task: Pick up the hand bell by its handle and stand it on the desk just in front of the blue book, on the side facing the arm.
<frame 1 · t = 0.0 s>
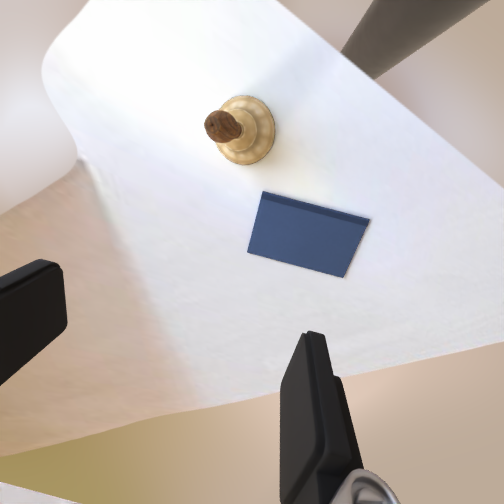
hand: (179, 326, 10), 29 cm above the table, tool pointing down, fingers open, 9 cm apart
hand bell: (244, 132, 34), on the table
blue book: (304, 236, 38), on the table
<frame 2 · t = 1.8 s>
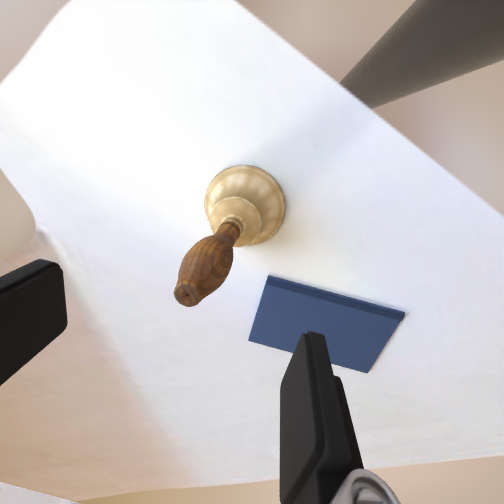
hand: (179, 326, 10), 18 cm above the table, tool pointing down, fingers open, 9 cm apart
hand bell: (244, 207, 26), on the table
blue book: (320, 326, 31), on the table
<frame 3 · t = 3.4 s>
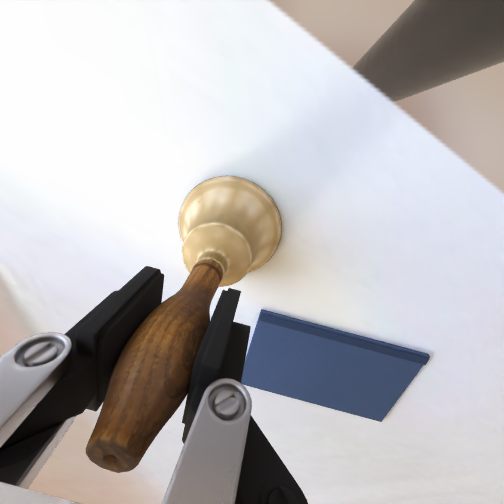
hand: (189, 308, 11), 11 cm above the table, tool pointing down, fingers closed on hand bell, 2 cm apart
hand bell: (230, 227, 20), on the table, touching gripper
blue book: (325, 368, 25), on the table
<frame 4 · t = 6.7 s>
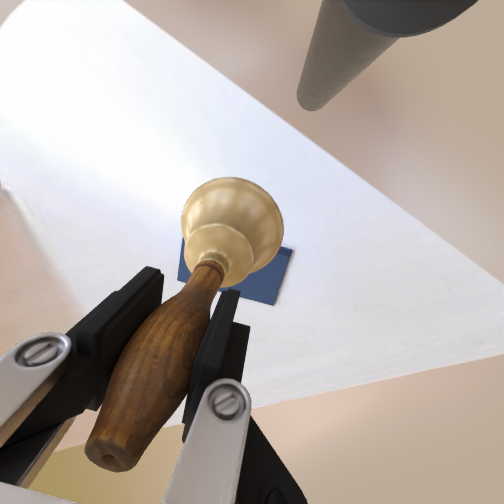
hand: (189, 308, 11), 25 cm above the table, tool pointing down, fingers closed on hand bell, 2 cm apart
hand bell: (232, 228, 20), point 14 cm above the table, touching gripper
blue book: (231, 265, 38), on the table
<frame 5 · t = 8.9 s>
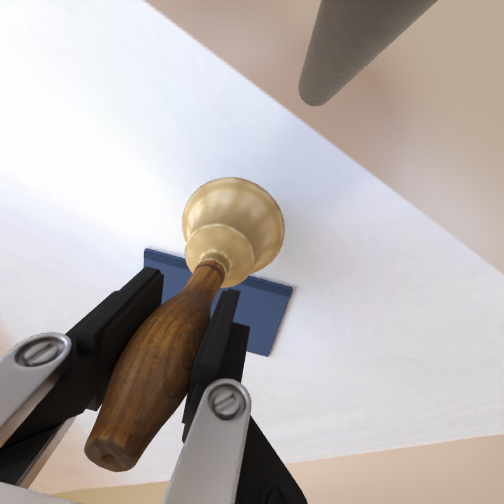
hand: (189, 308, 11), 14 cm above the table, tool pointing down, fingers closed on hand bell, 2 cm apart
hand bell: (233, 229, 20), point 4 cm above the table, touching gripper
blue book: (211, 305, 28), on the table
when the fingers open (11 cm above the table, at t = 10.1 s): hand bell stays where it is, on the table.
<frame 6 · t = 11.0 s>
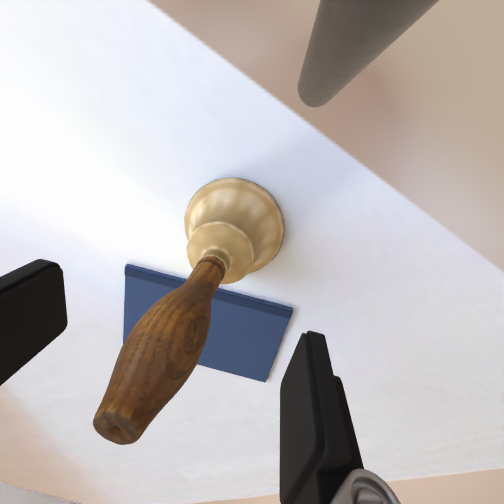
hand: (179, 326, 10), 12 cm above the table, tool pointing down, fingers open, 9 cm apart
hand bell: (234, 228, 21), on the table
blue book: (201, 326, 25), on the table
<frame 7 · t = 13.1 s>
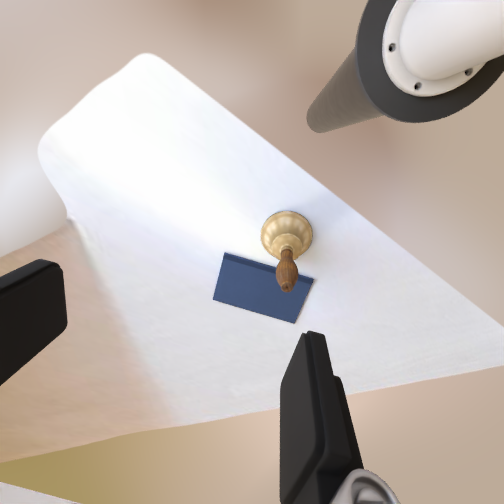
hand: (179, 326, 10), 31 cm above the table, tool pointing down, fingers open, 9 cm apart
hand bell: (286, 235, 41), on the table
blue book: (261, 289, 45), on the table
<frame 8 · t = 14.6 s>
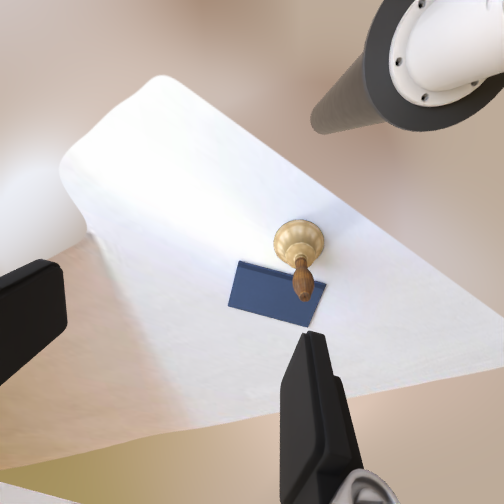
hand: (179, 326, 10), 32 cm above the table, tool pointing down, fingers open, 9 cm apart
hand bell: (298, 242, 42), on the table
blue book: (274, 295, 46), on the table
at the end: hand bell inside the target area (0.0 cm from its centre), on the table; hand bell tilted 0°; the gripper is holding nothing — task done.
